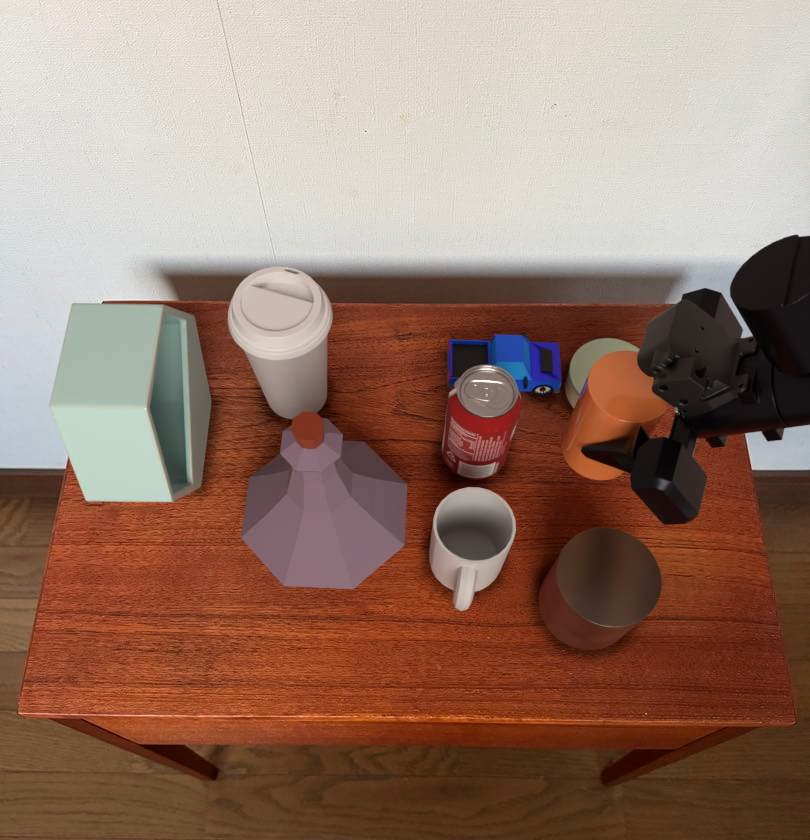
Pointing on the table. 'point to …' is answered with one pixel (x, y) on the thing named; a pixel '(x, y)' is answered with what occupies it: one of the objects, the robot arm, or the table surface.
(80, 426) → the planter
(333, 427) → the flask
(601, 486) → the table surface
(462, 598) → the cup
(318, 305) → the coffee cup
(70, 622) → the table surface
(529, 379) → the toy car
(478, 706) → the table surface
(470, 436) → the soda can
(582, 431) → the orange cylinder
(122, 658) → the table surface
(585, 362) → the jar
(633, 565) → the metal cylinder
